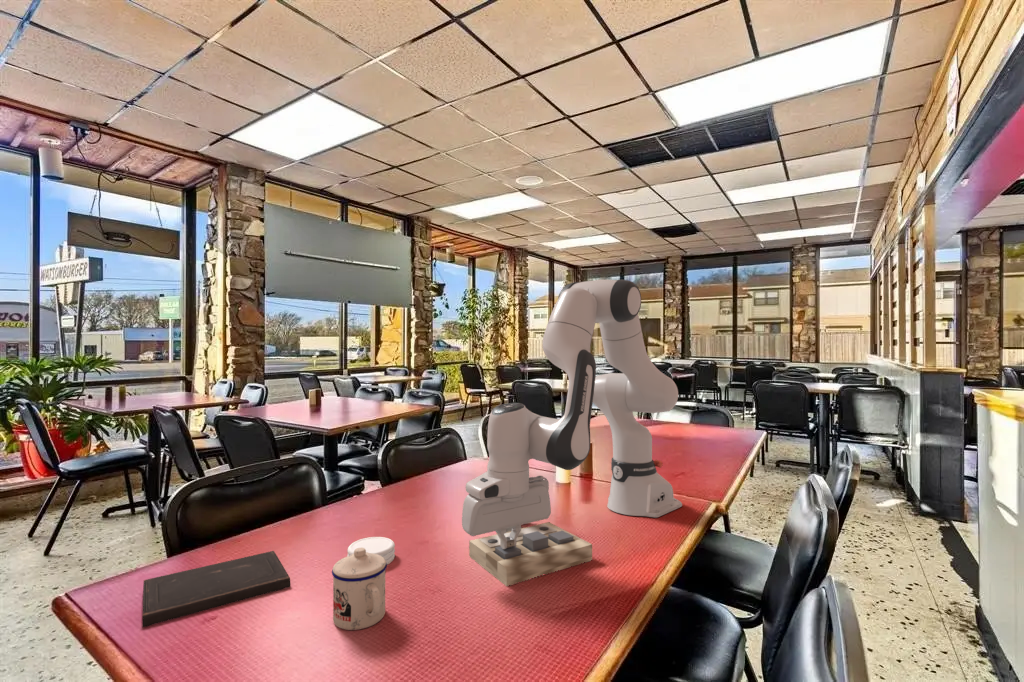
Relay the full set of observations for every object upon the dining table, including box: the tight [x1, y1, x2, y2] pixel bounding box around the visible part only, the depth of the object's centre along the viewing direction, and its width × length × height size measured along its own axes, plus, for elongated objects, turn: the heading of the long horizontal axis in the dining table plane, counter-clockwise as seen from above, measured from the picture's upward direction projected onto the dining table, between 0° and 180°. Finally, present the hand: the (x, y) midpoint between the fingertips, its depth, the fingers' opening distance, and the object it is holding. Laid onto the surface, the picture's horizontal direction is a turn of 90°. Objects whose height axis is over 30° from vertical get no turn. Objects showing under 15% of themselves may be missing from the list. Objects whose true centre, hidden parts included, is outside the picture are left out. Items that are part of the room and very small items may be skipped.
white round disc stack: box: [346, 536, 396, 566], centre depth 107 cm, size 10×10×4 cm
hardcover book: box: [141, 550, 291, 628], centre depth 94 cm, size 16×23×2 cm
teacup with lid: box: [331, 548, 388, 631], centre depth 83 cm, size 12×9×12 cm
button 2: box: [548, 531, 573, 545], centre depth 110 cm, size 4×4×3 cm
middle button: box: [523, 531, 548, 552], centre depth 106 cm, size 4×4×3 cm
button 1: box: [495, 546, 521, 560], centre depth 102 cm, size 4×4×3 cm
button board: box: [468, 521, 593, 587], centre depth 108 cm, size 22×16×4 cm
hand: (508, 547), depth 102 cm, fingers closed
